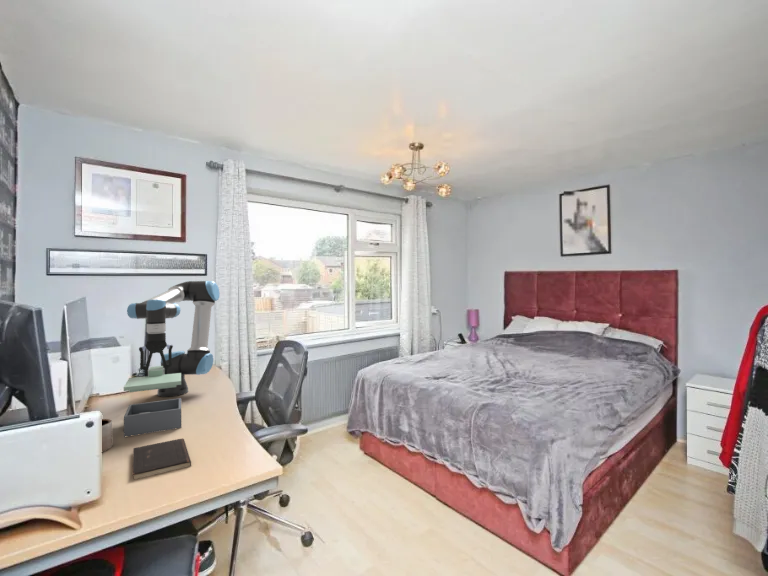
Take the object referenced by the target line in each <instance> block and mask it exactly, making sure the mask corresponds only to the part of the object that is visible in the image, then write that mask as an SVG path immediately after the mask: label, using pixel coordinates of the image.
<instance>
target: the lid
mask: <svg viewBox="0 0 768 576" xmlns="http://www.w3.org/2000/svg"><path fill="white" fill-rule="evenodd" d="M149 367H150V368H149V369H150V370H149V376H145V375H144V376H136V377H129V378H128V379H127V381H126V382H125V384H124V386H123V392H126V391H129V393H134V392H135V393H136V392H145V391H154V390H158V389H164V388H172V387H176V385H181V373H175V374H165V375H163V366H161V365H157V366H149Z"/></svg>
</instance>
